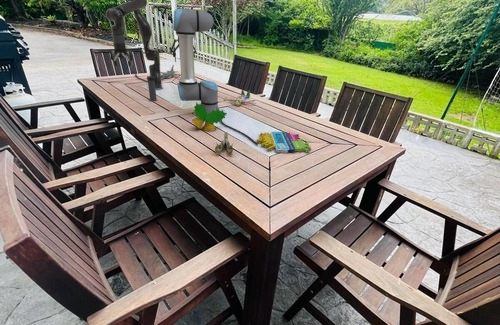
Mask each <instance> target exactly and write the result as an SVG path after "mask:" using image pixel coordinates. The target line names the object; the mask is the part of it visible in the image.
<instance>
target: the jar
mask: <svg viewBox="0 0 500 325" xmlns="http://www.w3.org/2000/svg"><path fill="white" fill-rule="evenodd" d="M147 81H148V82H147V87H148V95H149V101H150V102H157V101H158V99H157V89H155V81H154V80H153V81H149V80H147Z"/></svg>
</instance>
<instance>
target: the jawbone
mask: <svg viewBox="0 0 500 325" xmlns="http://www.w3.org/2000/svg"><path fill="white" fill-rule="evenodd" d="M223 135H224V136H223V140H222V139H221V142H220V144H218V142H215V144H216V146H215V148H214V149H215V152H214V154H215V155H217V156H218V155H220V153H221V152H223V151H224V150H226V152H227V153H228V155H229V156H233V155H234V154H233V153H234V148H233V144H234V143H230V140H228V139H229V138H228V137H229V136H228V135H229V133H228V131H226V132H224V134H223Z"/></svg>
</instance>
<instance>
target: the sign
mask: <svg viewBox="0 0 500 325" xmlns="http://www.w3.org/2000/svg"><path fill="white" fill-rule="evenodd" d="M299 136H300V135H299V134H298V133H296V134H294V133H291V132H287V131H270V132H264V133H263V132H260V133H259V139H258V138H257V139H256V140H255V142H256V143H257V144H261V148H263V147H264V148H265V149H267V151H268V152H271V151H272V150H273V149H275V152H276V153H283V154H285V153H287V154H288V153H290V154H293V153H296V152H298V153H301V152H305V153H310V151H311V150H312V149H311V148H312V146H309V142H304V141H303V139H302V138H299Z"/></svg>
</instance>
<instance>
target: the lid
mask: <svg viewBox="0 0 500 325" xmlns="http://www.w3.org/2000/svg"><path fill="white" fill-rule="evenodd" d="M148 80H149V81H153V80H155V77H154V76H150V75H148V76H146V81H148Z"/></svg>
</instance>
